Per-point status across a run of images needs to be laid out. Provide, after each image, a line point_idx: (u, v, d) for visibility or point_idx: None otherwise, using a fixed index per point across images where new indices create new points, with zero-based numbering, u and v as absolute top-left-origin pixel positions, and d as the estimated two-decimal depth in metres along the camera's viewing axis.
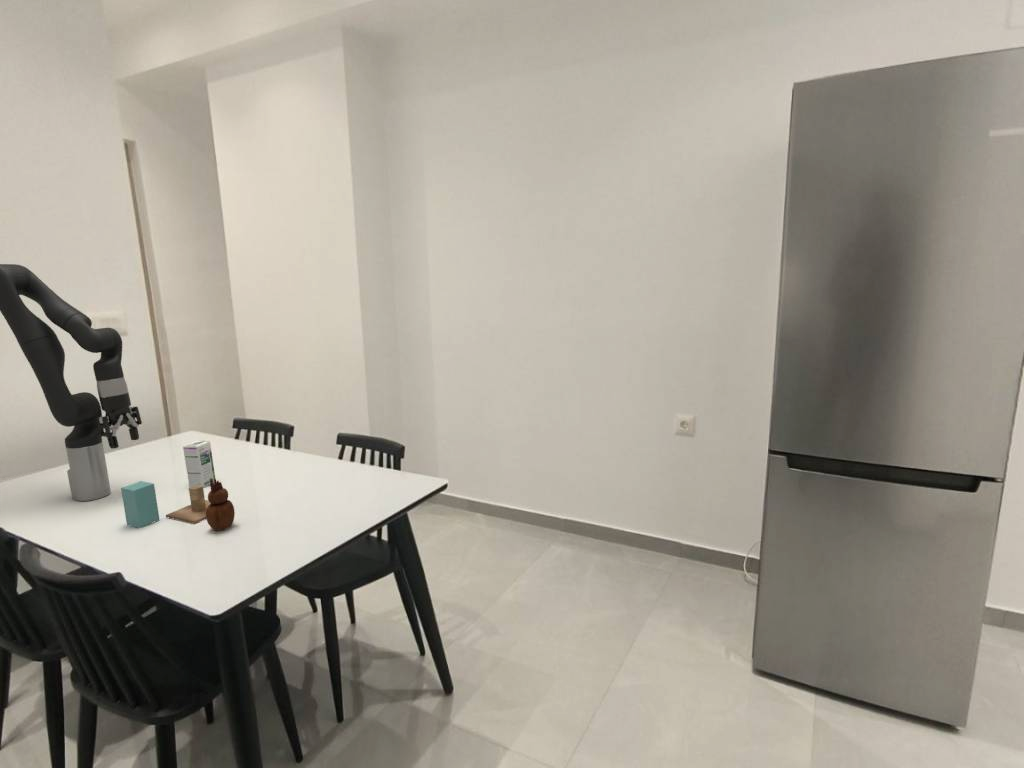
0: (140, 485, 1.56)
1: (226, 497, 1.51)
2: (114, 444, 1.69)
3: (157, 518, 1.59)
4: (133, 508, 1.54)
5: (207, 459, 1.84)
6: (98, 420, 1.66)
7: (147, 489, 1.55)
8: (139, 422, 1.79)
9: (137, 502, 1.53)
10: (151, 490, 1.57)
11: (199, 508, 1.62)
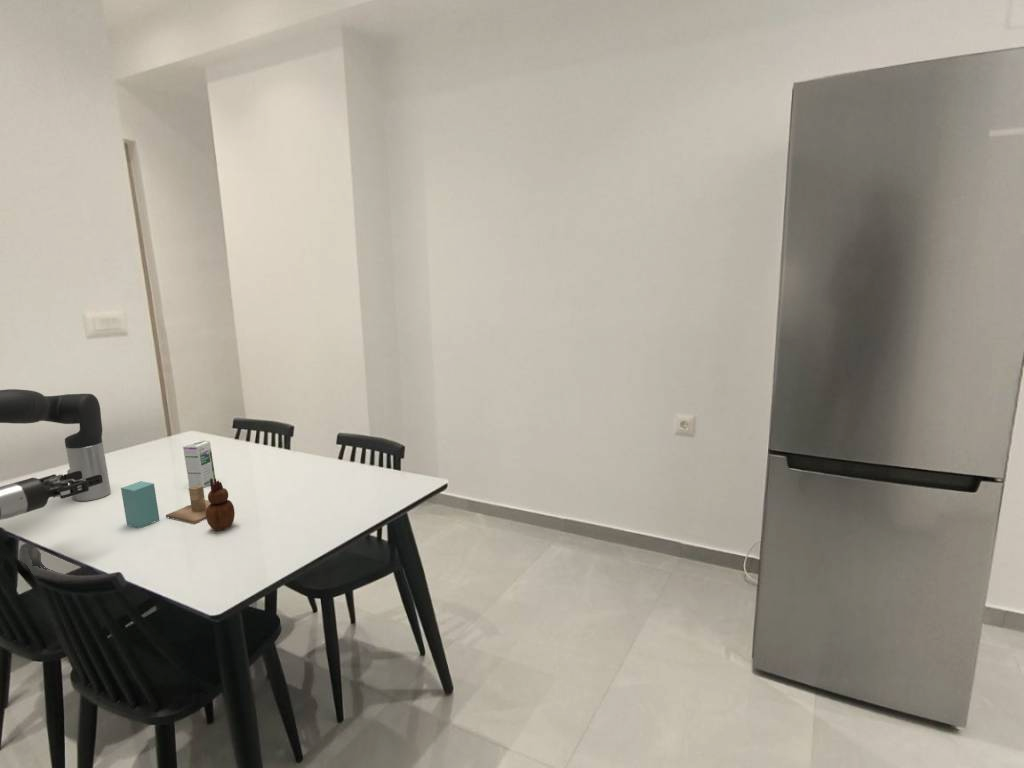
0: (140, 485, 1.56)
1: (226, 497, 1.51)
2: None
3: (157, 518, 1.59)
4: (133, 508, 1.54)
5: (207, 459, 1.84)
6: None
7: (147, 489, 1.55)
8: None
9: (137, 502, 1.53)
10: (151, 490, 1.57)
11: (199, 508, 1.62)
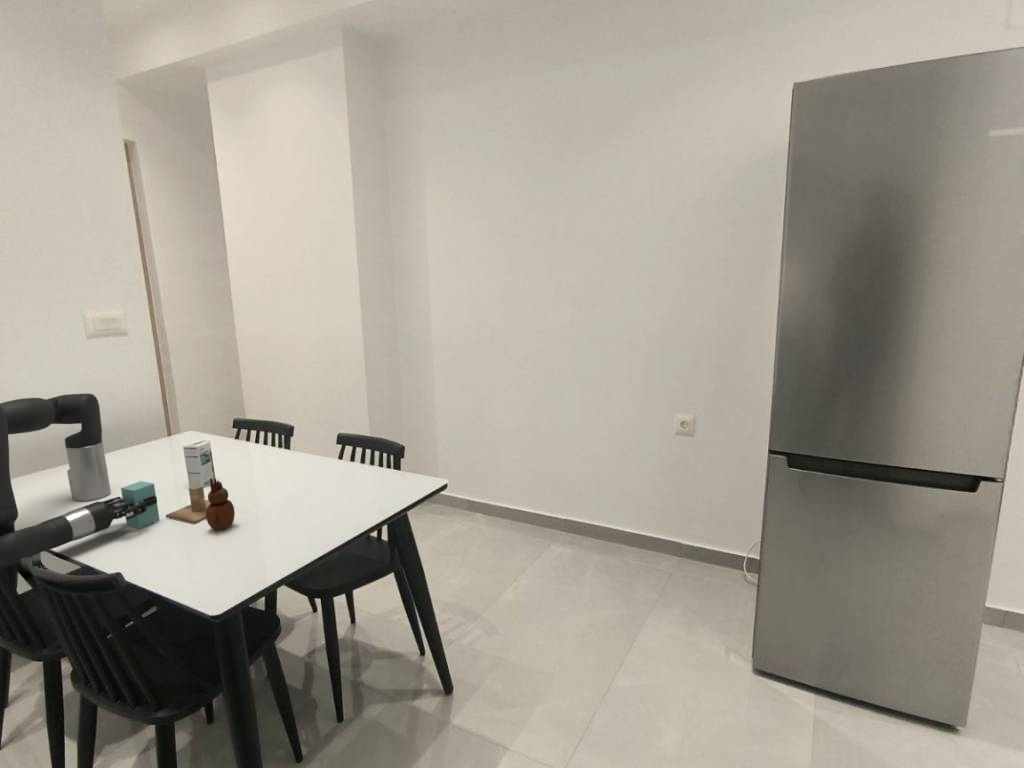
0: (140, 485, 1.56)
1: (226, 497, 1.51)
2: None
3: (157, 518, 1.59)
4: None
5: (207, 459, 1.84)
6: None
7: (147, 489, 1.55)
8: None
9: None
10: (151, 490, 1.57)
11: (199, 508, 1.62)
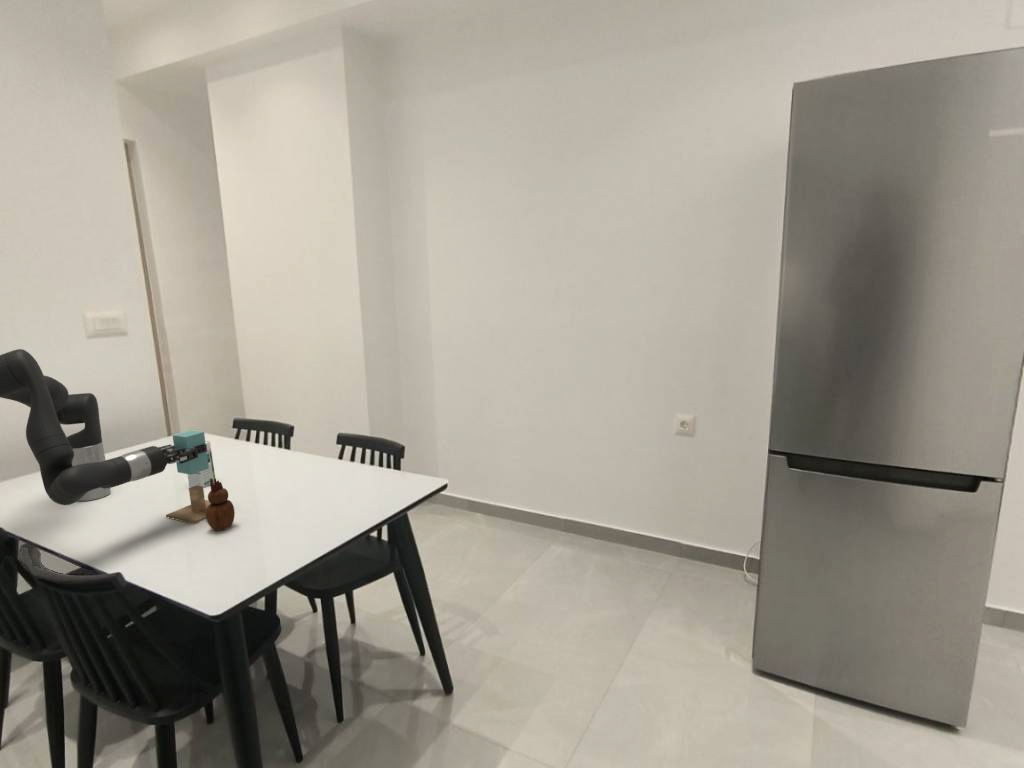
0: (190, 433, 1.59)
1: (226, 497, 1.51)
2: None
3: (206, 466, 1.62)
4: None
5: None
6: None
7: (197, 437, 1.59)
8: None
9: None
10: (201, 438, 1.60)
11: (199, 508, 1.62)
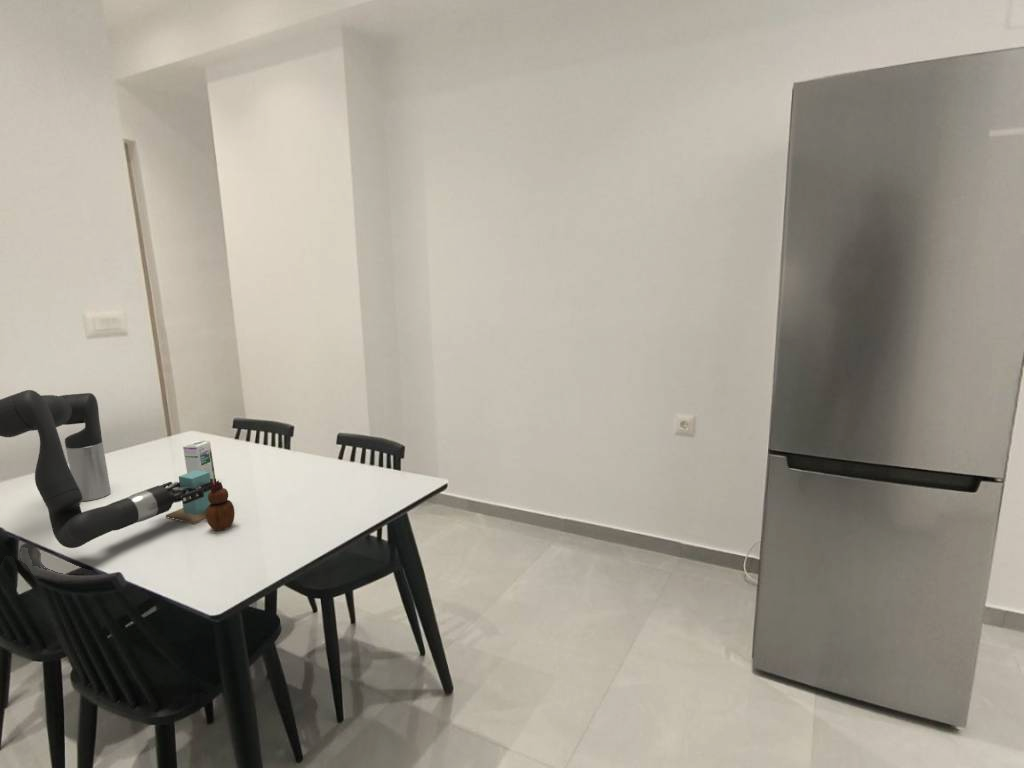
0: (196, 473, 1.62)
1: (226, 497, 1.51)
2: None
3: None
4: None
5: (207, 459, 1.84)
6: None
7: (203, 478, 1.61)
8: None
9: None
10: (207, 478, 1.62)
11: None
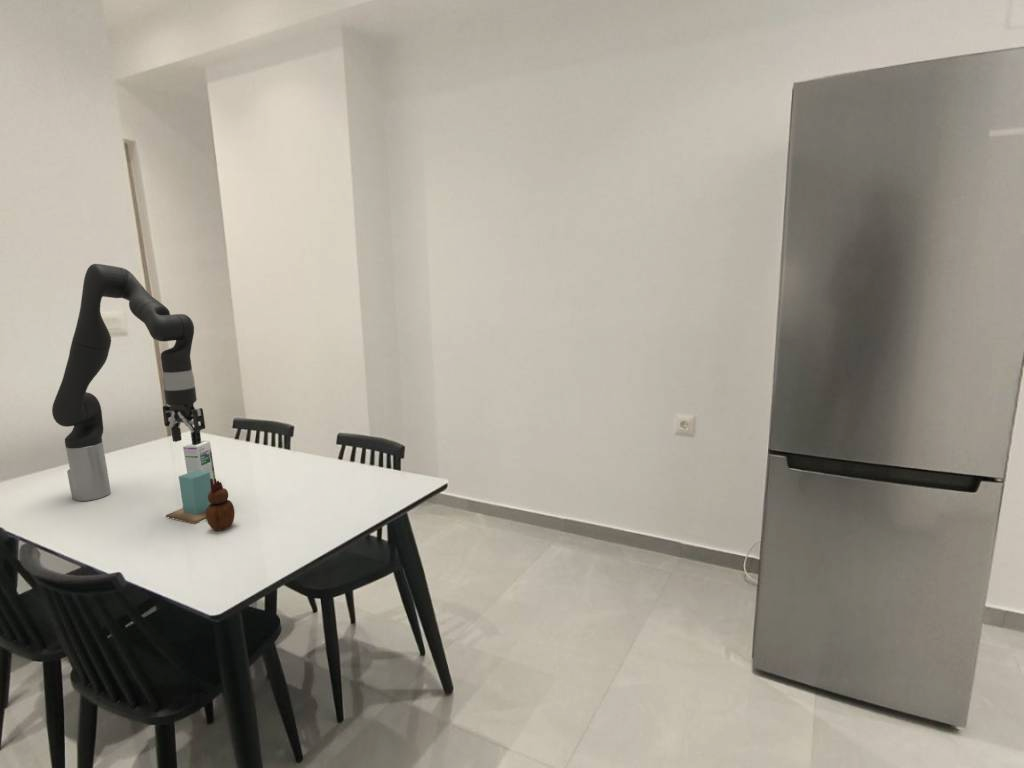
0: (196, 473, 1.62)
1: (226, 497, 1.51)
2: None
3: None
4: (191, 496, 1.59)
5: (207, 459, 1.84)
6: None
7: (203, 478, 1.61)
8: (195, 428, 1.54)
9: (195, 490, 1.59)
10: (207, 478, 1.62)
11: None
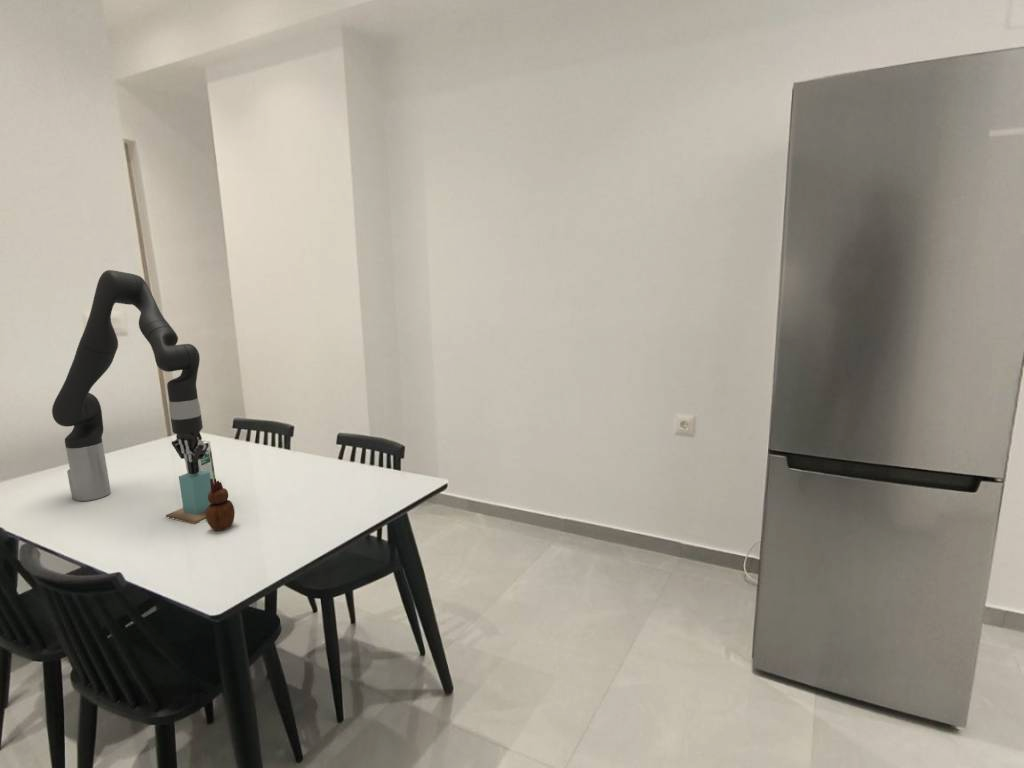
0: (196, 473, 1.62)
1: (226, 497, 1.51)
2: None
3: None
4: (191, 496, 1.59)
5: (207, 459, 1.84)
6: None
7: (203, 478, 1.61)
8: (193, 458, 1.59)
9: (195, 490, 1.59)
10: (207, 478, 1.62)
11: None
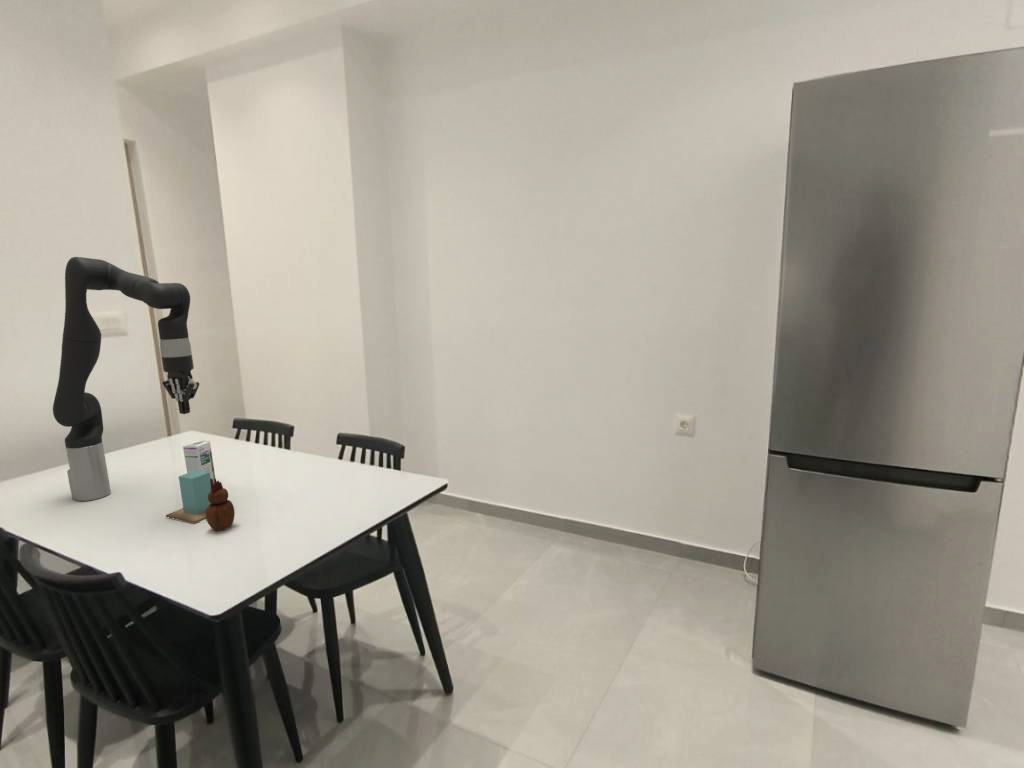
0: (196, 473, 1.62)
1: (226, 497, 1.51)
2: None
3: None
4: (191, 496, 1.59)
5: (207, 459, 1.84)
6: None
7: (203, 478, 1.61)
8: (184, 397, 1.59)
9: (195, 490, 1.59)
10: (207, 478, 1.62)
11: None
